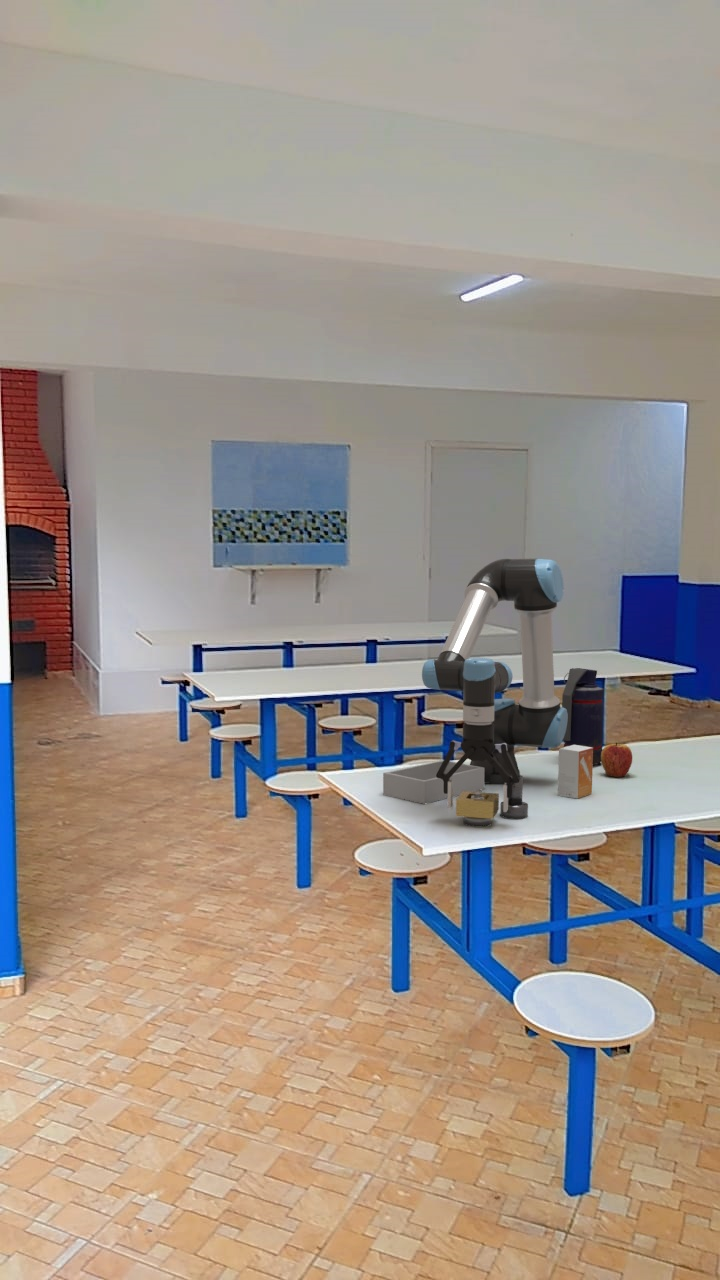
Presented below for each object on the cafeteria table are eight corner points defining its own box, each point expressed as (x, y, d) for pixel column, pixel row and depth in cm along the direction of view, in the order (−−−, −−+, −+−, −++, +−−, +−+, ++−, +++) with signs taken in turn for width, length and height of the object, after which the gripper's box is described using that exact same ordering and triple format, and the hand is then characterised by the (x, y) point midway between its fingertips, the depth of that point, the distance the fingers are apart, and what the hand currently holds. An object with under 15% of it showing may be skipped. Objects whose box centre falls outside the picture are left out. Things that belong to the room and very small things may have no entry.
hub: (457, 822, 245) (457, 790, 244) (475, 817, 250) (475, 786, 249) (479, 828, 240) (479, 795, 240) (497, 822, 245) (497, 790, 244)
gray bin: (383, 794, 274) (383, 772, 274) (443, 780, 292) (443, 759, 291) (424, 804, 263) (424, 781, 263) (484, 788, 281) (484, 767, 280)
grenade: (582, 758, 324) (584, 665, 321) (610, 764, 314) (612, 669, 311) (550, 763, 316) (552, 668, 314) (578, 769, 306) (580, 672, 304)
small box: (578, 799, 269) (579, 751, 268) (557, 795, 273) (558, 748, 272) (592, 794, 275) (593, 747, 274) (572, 790, 279) (572, 744, 278)
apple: (602, 778, 294) (603, 745, 293) (598, 772, 303) (599, 739, 302) (634, 779, 293) (635, 745, 292) (629, 773, 302) (630, 740, 301)
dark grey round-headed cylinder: (494, 815, 252) (495, 776, 251) (511, 810, 257) (511, 772, 256) (516, 820, 247) (517, 780, 246) (533, 815, 252) (533, 776, 251)
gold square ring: (455, 816, 242) (456, 799, 241) (462, 807, 250) (462, 791, 250) (493, 818, 239) (493, 802, 239) (498, 809, 248) (498, 793, 248)
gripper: (424, 722, 243) (424, 808, 245) (528, 727, 236) (527, 816, 238) (431, 717, 250) (430, 801, 252) (532, 722, 243) (531, 808, 245)
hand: (477, 808), depth 245 cm, fingers open, 13 cm apart
